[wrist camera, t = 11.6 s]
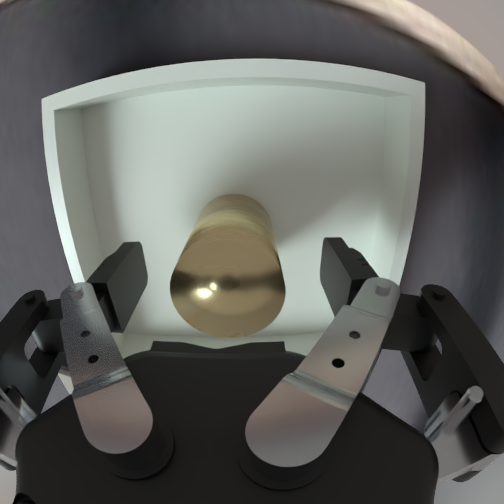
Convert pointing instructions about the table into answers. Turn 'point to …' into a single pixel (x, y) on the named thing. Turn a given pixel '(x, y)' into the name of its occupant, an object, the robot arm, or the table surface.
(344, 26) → the table surface
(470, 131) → the table surface
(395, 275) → the tray
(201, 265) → the cylinder
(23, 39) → the table surface
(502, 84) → the table surface
